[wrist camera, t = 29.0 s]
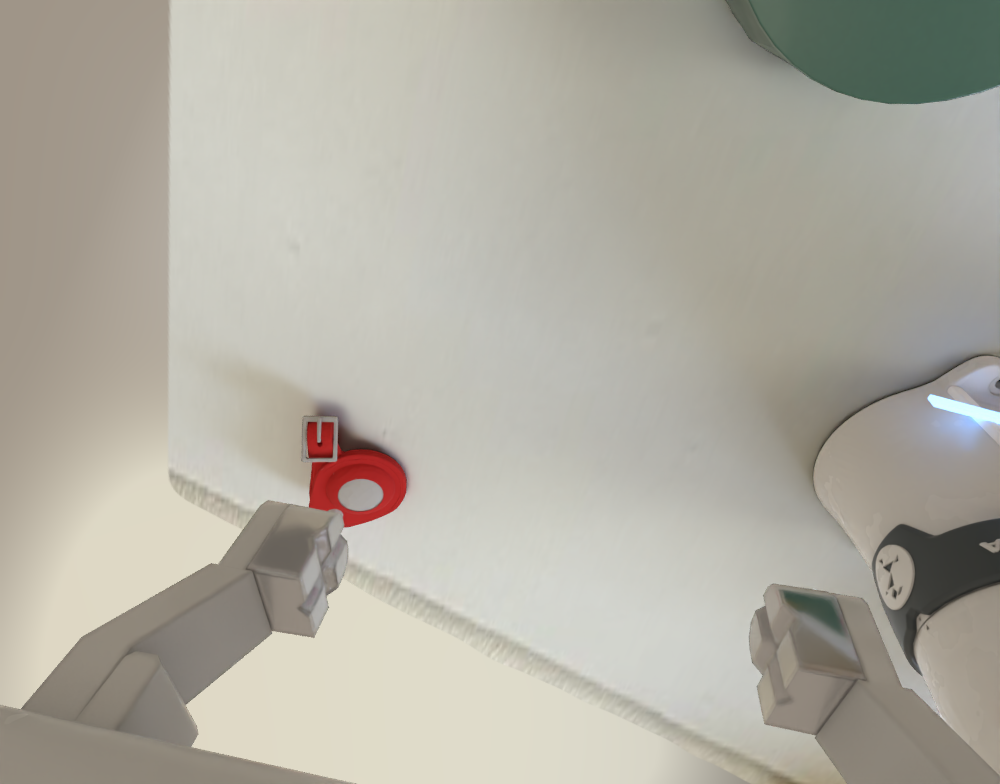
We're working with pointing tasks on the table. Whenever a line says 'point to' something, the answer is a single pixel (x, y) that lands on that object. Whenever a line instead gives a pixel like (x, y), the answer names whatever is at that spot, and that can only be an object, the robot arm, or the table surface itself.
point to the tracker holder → (349, 475)
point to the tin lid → (888, 45)
